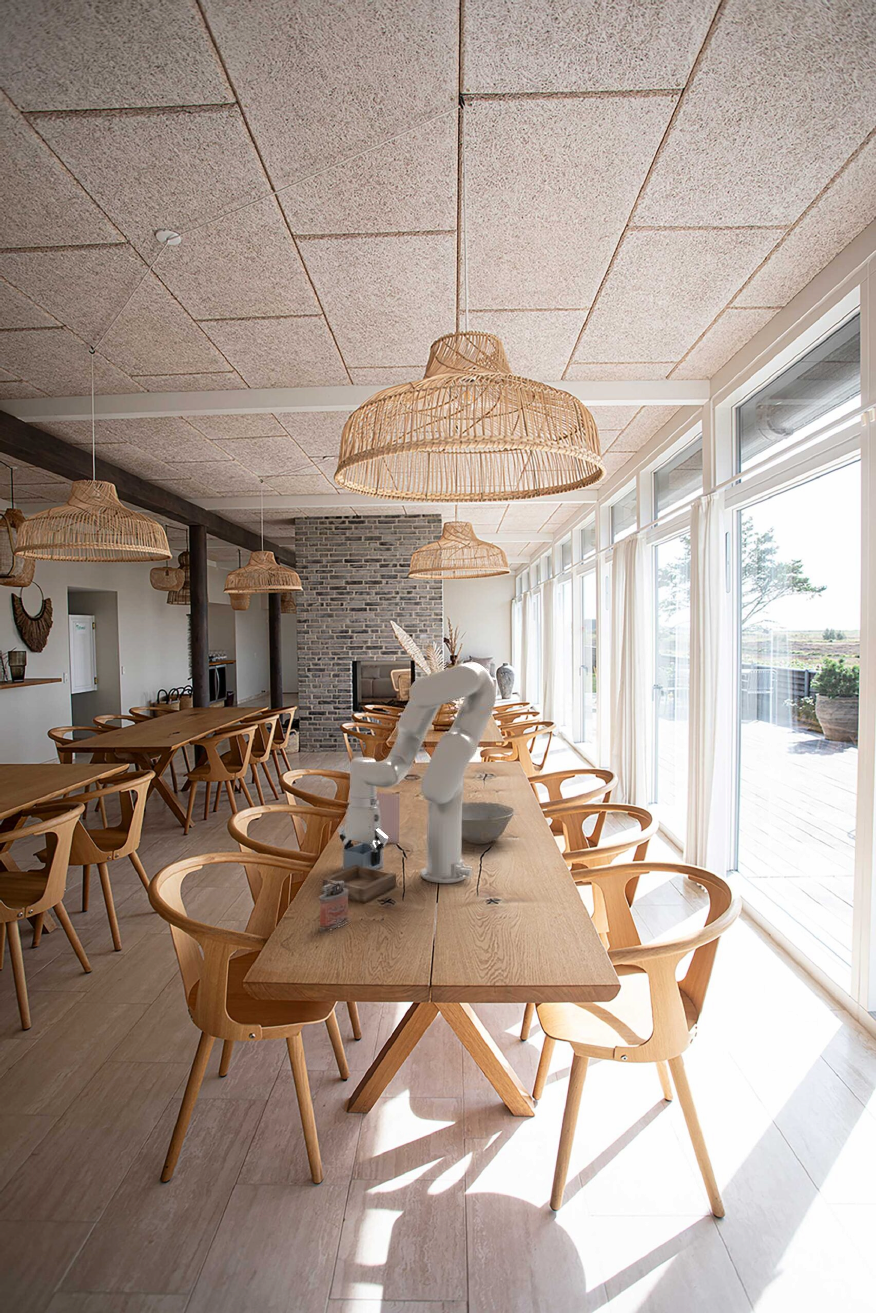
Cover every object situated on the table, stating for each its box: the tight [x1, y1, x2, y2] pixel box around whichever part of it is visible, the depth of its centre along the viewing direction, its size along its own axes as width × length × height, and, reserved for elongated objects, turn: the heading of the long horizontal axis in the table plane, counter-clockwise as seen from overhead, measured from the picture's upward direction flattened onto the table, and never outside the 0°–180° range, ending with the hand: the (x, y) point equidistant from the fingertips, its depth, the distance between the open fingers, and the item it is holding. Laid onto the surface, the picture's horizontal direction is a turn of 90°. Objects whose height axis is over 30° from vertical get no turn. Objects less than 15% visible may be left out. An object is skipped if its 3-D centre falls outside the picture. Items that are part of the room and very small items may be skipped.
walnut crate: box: [322, 865, 397, 904], centre depth 187 cm, size 14×14×4 cm
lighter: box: [318, 881, 349, 932], centre depth 164 cm, size 8×3×10 cm, turn 141°
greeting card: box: [376, 791, 400, 844], centre depth 229 cm, size 11×7×15 cm, turn 56°
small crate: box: [342, 843, 384, 870], centre depth 203 cm, size 7×9×6 cm
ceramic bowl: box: [462, 801, 515, 845], centre depth 232 cm, size 22×23×10 cm
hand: (361, 861), depth 203 cm, fingers open, 9 cm apart
